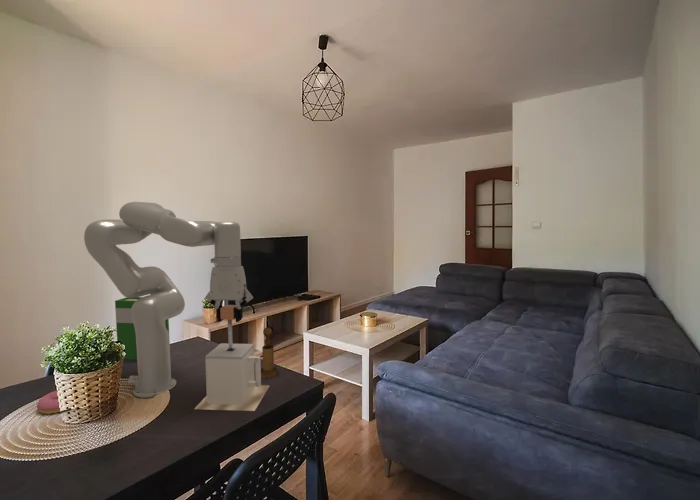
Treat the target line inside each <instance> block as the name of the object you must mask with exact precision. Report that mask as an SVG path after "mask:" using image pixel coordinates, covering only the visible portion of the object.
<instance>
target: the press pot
mask: <svg viewBox="0 0 700 500" xmlns="http://www.w3.org/2000/svg"><path fill="white" fill-rule="evenodd" d="M261 365H262V364H261V356H259V355H258V356H257V355H255V345H254V343H233V351H229V344H228V343H226V342H225V343H224V342H223V343H219V344H218V345H217V346H216V347H215V348H213V349H212V350H211V351H210V352H209V353H207V354H206V355H205V382H206V383H205V384H206V386H205V388H206V396H207V404H222V405H243V404H244V403H245V401H246V400H247V399H248V397H249V396H250V394H251V393H252V391H253V390H254V388H255V387H260V386H261V385H262V378H261V369H262V366H261Z"/></svg>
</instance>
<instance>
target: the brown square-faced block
mask: <svg viewBox="0 0 700 500" xmlns="http://www.w3.org/2000/svg"><path fill="white" fill-rule="evenodd" d="M236 309H237V306H236V304H225V305H222V307H221V308H220V312H221V319H224V320H227V336H228V340H227V342H228V343H227V344H229V351H233V344H234V343H233V320H236V318H235V310H236Z"/></svg>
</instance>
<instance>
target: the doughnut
mask: <svg viewBox="0 0 700 500" xmlns="http://www.w3.org/2000/svg"><path fill="white" fill-rule="evenodd" d="M36 408H37V411H39V412H40V413H41V414H43V415H44V414H46V415H52V414H51V413H55V414H58V413H57V412H60V408H59V402H58V396H57V390H54V391H51V392H49V393H46V394H45V395H44V396H42V397H41V398H39V400H38V401H37V404H36ZM60 413H61V412H60Z"/></svg>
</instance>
